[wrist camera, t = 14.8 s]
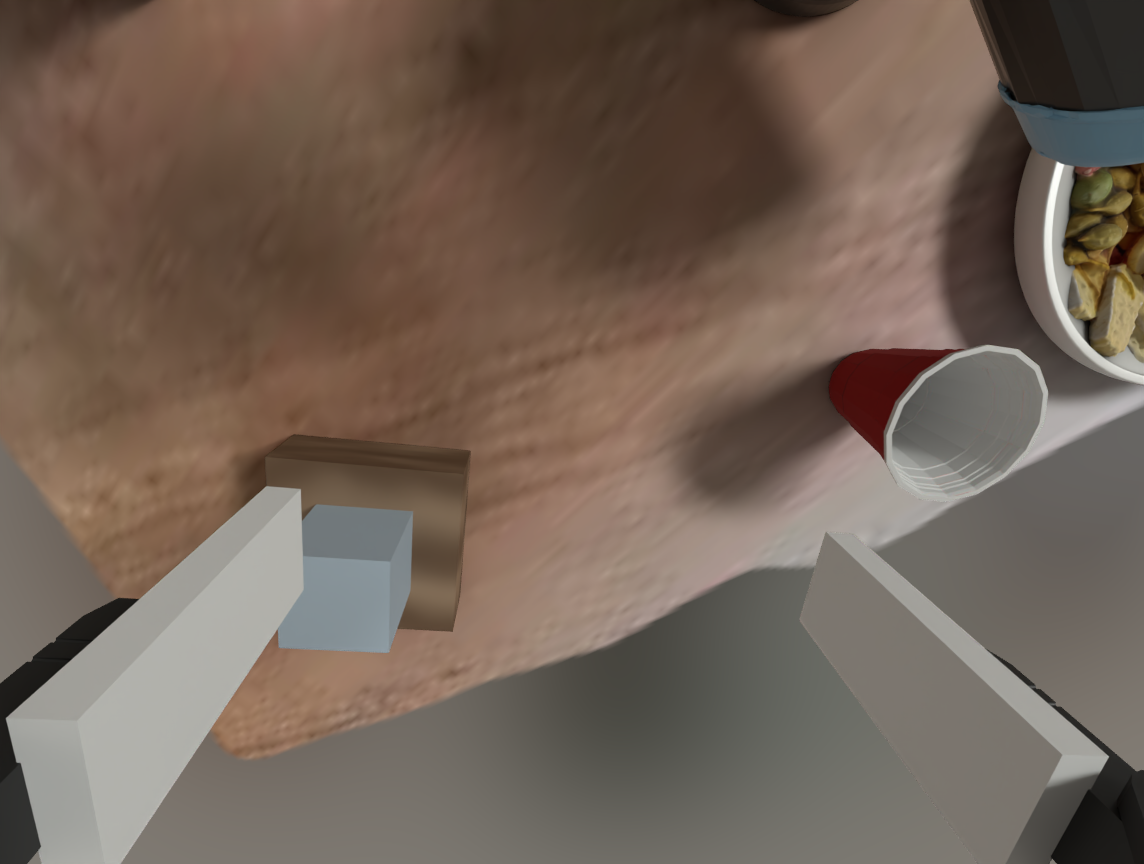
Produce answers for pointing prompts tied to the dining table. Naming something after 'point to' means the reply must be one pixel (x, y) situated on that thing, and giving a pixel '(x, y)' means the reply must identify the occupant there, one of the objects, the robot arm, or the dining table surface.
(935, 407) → the plastic cup
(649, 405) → the dining table surface
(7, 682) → the robot arm
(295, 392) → the dining table surface
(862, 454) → the dining table surface
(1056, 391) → the dining table surface
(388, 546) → the slate cube
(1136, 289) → the bowl
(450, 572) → the walnut block
